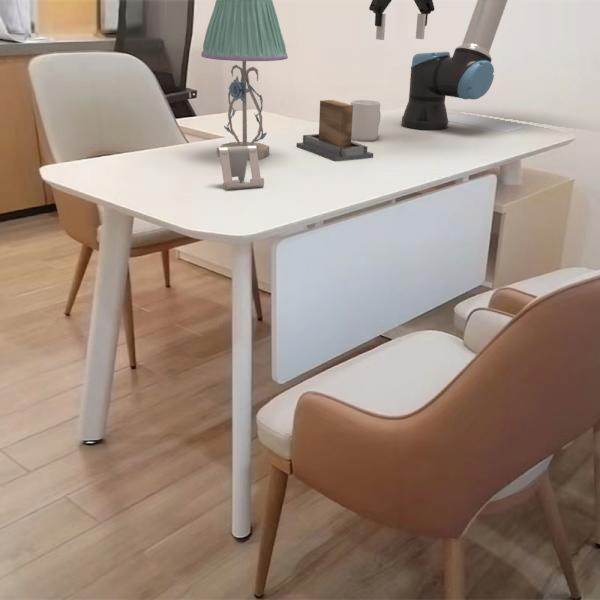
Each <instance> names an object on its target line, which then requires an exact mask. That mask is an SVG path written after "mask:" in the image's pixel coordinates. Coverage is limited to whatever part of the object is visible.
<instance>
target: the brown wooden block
mask: <svg viewBox="0 0 600 600" xmlns="http://www.w3.org/2000/svg"><path fill="white" fill-rule="evenodd" d="M318 118H319V120H318V121H319V123H318V134H319V139H320V140H323V141H326V142H329V143H332V144H334V145H337V146H340V147H343V148H346V147H351V141H352V139H351V136H352V118H353V105H351V103H345V102H342V101H338V100H334V99H328V100H327V99H326V100H324V99H323V100H320V101H319V117H318Z"/></svg>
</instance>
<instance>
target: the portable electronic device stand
mask: <svg viewBox="0 0 600 600" xmlns="http://www.w3.org/2000/svg"><path fill="white" fill-rule="evenodd" d="M216 155H217V157H218V158H220V166H221V172H222V180H223V186H224V190H226V191H233V190H244V189H253V188H255V189H256V188H258V189H259V188H264V187H265V178H264V177H262V176H261V172H260V171H261V170H260V163H259V159H258V155H257V148H256V146H255V145H252V146H235V147H217V149H216ZM248 156H249V158H250V160H249V165H250V172H251V178H250V180H249V181H248V182H244V181H245V178H246V172H247V171H246V170H247V164H248ZM233 178H238V179H233ZM242 181H243V182H242Z"/></svg>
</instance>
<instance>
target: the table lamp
mask: <svg viewBox="0 0 600 600" xmlns="http://www.w3.org/2000/svg"><path fill="white" fill-rule="evenodd" d="M280 26H281V25H280V23H279V19H278V16H277V13H276V9H275V6H274V2H273V0H215V4H214V7H213V10H212V14H211V17H210V19H209V22H208V25H207V28H206V31H205V34H204V35H205V36H204V40H203V45H202V48H203V49H202V50H203V51H201V54H200V55H201V57H202V58H205V59H211V60H218V61H231V62H232V61H233V62H235V61H236V62H242V63H241V64H242V67H240V66H239V65H237V64H235V65H233V66H232V68H231V69H230V73H231V77H232V78H233V77H234V69H239V70H240V74H241V75H240V76H241V77H240V80H239V77H238V75H236V77H235V79H233V81H231V82H230V84H229V87H228V94H227V95H228V104H229V106H228V107H229V108H228V113H227V118H228V123H227V125H226V126H225V125H223V127H224V129H225V130H226V131H227V132H228V133H229V134H231V135H232V136H233V137H234V139H235V141H232V142H228V143H222V144H221V145H220V147H235V146H252V145H255V146H256V148H257V155H258V160H263V159H265V158H266V157H268V156H270V145H267V144H264V143H261V142H259V141H260V140H261V141H262V140H264V139H265V137H266V136H267V133H268V132H264V128H263V115H262V111H263V102H264V101H263V96H262V94H259V93H257V91H256V90H255V89H254V88H253V86H252V85H251V84H250V79H249V73H250V72H253V71H254V72H255V74H256V82H258V81H259V69H257V68H256V67H255V66H250V67H248V68H247V62H272V61H273V62H274V61H275V62H276V61H284V60H288V57H289V56H288V54H287V49H286V44H285V40H284V37H283V35H282V29H281V27H280ZM247 93H248V94H249V95H250V97H251V99H252V101H253V104H254V106H255V108H256V110H257V112H258V113H257V114H256V113H255V112H253V113H254V116H255V119H256V122H257V123H258V126H259V127H258V130H257V134H256V136H255V137H254V138H253V139H252V140H251V141H248V131H247V130H248V124H247V121H248V120H247V119H248V117H247V113H248V111H247ZM255 95H257V97H259V100H260V105H259V103H258V101H257V99H256V97H255ZM231 98H232V99H231ZM237 100H241V101H242V141H240V140H239V138H238V136H237V134H236V133H235V130H234V129H233V123H232V122H233V121H232V118H233V117H234V116H235V114H236V111H237V109H234V107H233V104H234V103H235V102H237ZM258 116H259V117H258ZM248 160H249V161H250V158H249V156H248ZM248 160H247V161H248Z"/></svg>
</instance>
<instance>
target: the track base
mask: <svg viewBox="0 0 600 600" xmlns="http://www.w3.org/2000/svg"><path fill="white" fill-rule="evenodd" d="M296 147H297V148H299V149H301V150H305V151H308V152H309V153H313V154H315V155H318V156H321V157H323V158H324V159H328V160H331V161H333V162H339V161H349V160H359V159H369V158H374V153H373V152H370V151H368V146H367V145H363V144H361V143H357V142H355V141H352V140H351V147H346V148H343V147H340V146H337V145H334V144H332V143H329V142H326V141H323V140H320V139H319V133H314V134H303V136H302V142H296Z"/></svg>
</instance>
